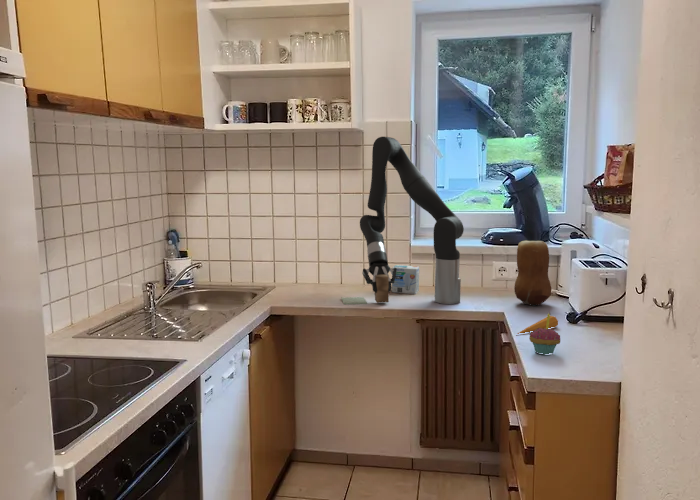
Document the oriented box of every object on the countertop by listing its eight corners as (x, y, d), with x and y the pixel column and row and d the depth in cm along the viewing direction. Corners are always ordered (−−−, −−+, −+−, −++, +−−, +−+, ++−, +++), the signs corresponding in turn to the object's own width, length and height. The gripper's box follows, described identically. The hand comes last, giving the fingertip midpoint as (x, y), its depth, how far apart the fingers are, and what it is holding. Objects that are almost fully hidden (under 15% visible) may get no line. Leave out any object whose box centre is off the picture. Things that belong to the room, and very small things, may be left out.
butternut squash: (530, 299, 237) (532, 237, 233) (557, 305, 225) (561, 240, 222) (505, 303, 229) (508, 239, 226) (533, 310, 218) (536, 243, 214)
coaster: (363, 298, 238) (363, 297, 238) (366, 303, 229) (366, 302, 229) (341, 299, 237) (341, 297, 236) (343, 304, 228) (343, 302, 228)
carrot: (551, 328, 198) (547, 315, 199) (562, 326, 195) (557, 313, 195) (510, 343, 188) (506, 330, 188) (520, 342, 184) (516, 328, 185)
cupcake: (535, 346, 175) (537, 307, 174) (564, 352, 170) (566, 311, 168) (524, 353, 169) (525, 312, 167) (553, 360, 163) (555, 317, 162)
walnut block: (386, 299, 231) (386, 274, 230) (388, 302, 227) (388, 276, 225) (375, 299, 231) (374, 274, 229) (376, 302, 226) (376, 276, 225)
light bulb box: (391, 292, 249) (391, 267, 247) (394, 289, 255) (395, 264, 254) (416, 294, 246) (416, 268, 244) (419, 291, 252) (419, 266, 250)
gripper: (360, 250, 233) (365, 286, 222) (396, 249, 234) (402, 285, 224) (358, 261, 239) (363, 297, 228) (393, 260, 240) (399, 296, 230)
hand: (382, 291), depth 226 cm, fingers closed on walnut block, 4 cm apart
